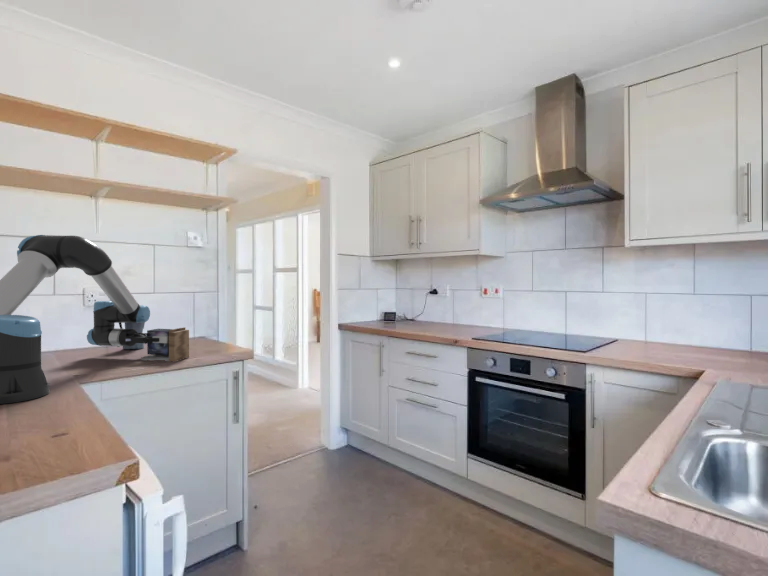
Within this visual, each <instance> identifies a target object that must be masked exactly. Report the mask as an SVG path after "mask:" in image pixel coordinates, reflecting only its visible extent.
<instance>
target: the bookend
mask: <svg viewBox="0 0 768 576" xmlns="http://www.w3.org/2000/svg"><path fill="white" fill-rule="evenodd" d="M171 329H172V330H169V355H168V356H166V355H149V354H148V355H145V356H142V357H141V358H140V361H147V360H165V361H164V362H171V361H173V363H174V362H178V361H181V360H184V359H183V358H185V359H187V358H186V357H188V358H190V330H189V329H186V327H184V326H183V327H179V328H171ZM180 359H181V360H180ZM177 360H178V361H177Z"/></svg>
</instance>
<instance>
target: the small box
mask: <svg viewBox="0 0 768 576" xmlns="http://www.w3.org/2000/svg"><path fill="white" fill-rule="evenodd" d="M172 329H173V328H154V329H153V328H152V329H147V331H146V333H147V336H149V337H150V336H151V337H152V336H167V337H168V343H153V342H152V344H151V345H149V343H146V345H147V346H146V347H147V350H146V351H147V352H146V353H147V355H148V356H149V355H166V356H168V355H169V330H172Z"/></svg>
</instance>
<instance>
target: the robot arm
mask: <svg viewBox="0 0 768 576" xmlns="http://www.w3.org/2000/svg"><path fill="white" fill-rule="evenodd" d="M16 258H17V262H16V264H15V265H14V266H13V267H12V268H11V269H10V270H9V271H7V272H6V274H4V275H3V277H2V278H1V279H0V405H2V404H3V405H4V404H12V403H19V402H25V401H31V400H35V399H38V398H42V397H45V396H46V395H48V394H49V393H50V383H49V382H48V381H47V378H46V376H45V375H46V374H45V373H44V371H43V369H42V368H43V367H42V334H43V333H42V332H43V331H42V330H41V328H42V327H41V321H40V320H39V319H38V318H36V317H34V316H29V315H24V314H23V315H20V314H13V313H14V312H15V311H16V310H17V309H18V308H19V307H20V305H22V304H23V302H24V301H25V300H26V299H28V297H29V296H30V295H31V294H32V293H33V292H34V290H35V289H36V288H37V287H38V286H39V285H40V284H41V282H43V280H44V279H46V278H51V277H53V276H55V274H57V272H58V271H59V270H60V269H64V268H65V269H71V268H72V269H79V270H81V271H83V272H84V273H85V275H87V276H90V277H91V278H93V280H94V281H95V283H97V285H98V286H99V288H100V289H101V290H102V291H103V292H104V295H106V297H107V298H108V299H109V300H101V301H95V302H94V303H93V311H92V313H93V328H91V329H89V330H88V332H87V335H86V340H87V343H89V344H90V345H91V346H98V347H104V346H105V347H106V346H107V347H116V348H120V347H123V346H133V345H135V344H136V343H144V345H147V343H149V345H151V344H152V342H153V343H168V337H167V336H152V337H151V336H150V337H149V336H147V332H146V333H145V332H142V333H137V331H136V330H134V329H125V328H123V329H120V328H115V324H119V323H121V324H123V323H124V324H125V323H142V322H145V323H146V322H147V321H149V319H150V316H151V310H150V308H149V306H147V305H143V304H141V305H140V304H139V303H138V301H137V300H136V298H135V297H134V296H133V294H132V292H130V290H129V289H128V287H127V286H126V284H125V283H124V282H123V280H122V279H121V277H120V276H119V274H118V273H117V272H116V270H115V269H114V268H113V266H112V264H113V261H112V259H111V258H110V257H109V255H108V254H107V253H106V251H104V250H103V249H102V248H101V247H100V246H98V245H97V244H96V243H95V242H92V241H91V240H89V239H88V238H85V237H83V236H78V235H52V234H49V235H48V234H47V235H46V234H37V235H29V236H27V237H25V238H23V239H22V240H21V241H20V243H18V247H17V250H16Z"/></svg>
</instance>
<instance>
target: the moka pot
mask: <svg viewBox="0 0 768 576" xmlns="http://www.w3.org/2000/svg"><path fill="white" fill-rule="evenodd" d="M122 324H123V323H118V326H119V329H134V330H136V331H137V333H144V332H143V331H144V329H145V324H146V322H142V323H124V328H123V325H122ZM144 347H145V343H136V344H135V345H133V346H122V350H140V349H144Z"/></svg>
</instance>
